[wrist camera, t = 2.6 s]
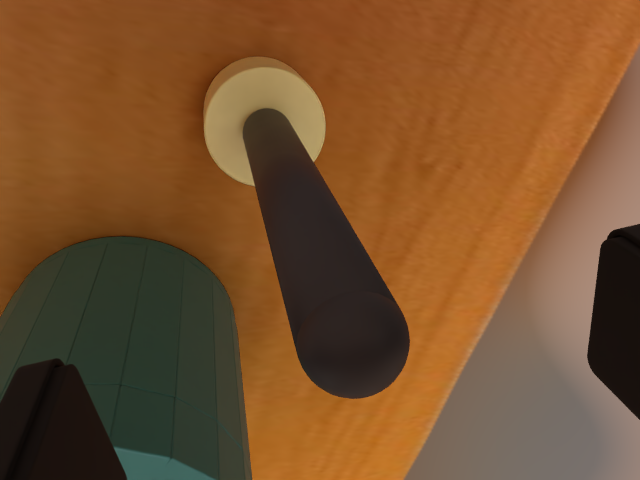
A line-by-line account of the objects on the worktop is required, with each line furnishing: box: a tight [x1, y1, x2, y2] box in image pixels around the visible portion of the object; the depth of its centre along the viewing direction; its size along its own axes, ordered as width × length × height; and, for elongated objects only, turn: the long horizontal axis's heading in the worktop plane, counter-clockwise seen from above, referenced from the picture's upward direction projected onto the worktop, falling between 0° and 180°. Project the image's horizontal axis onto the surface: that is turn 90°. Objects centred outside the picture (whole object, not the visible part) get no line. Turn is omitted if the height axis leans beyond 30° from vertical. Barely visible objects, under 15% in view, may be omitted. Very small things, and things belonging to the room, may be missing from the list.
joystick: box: [203, 56, 410, 399], centre depth 16 cm, size 5×5×18 cm
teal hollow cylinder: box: [0, 236, 252, 480], centre depth 22 cm, size 11×11×13 cm
